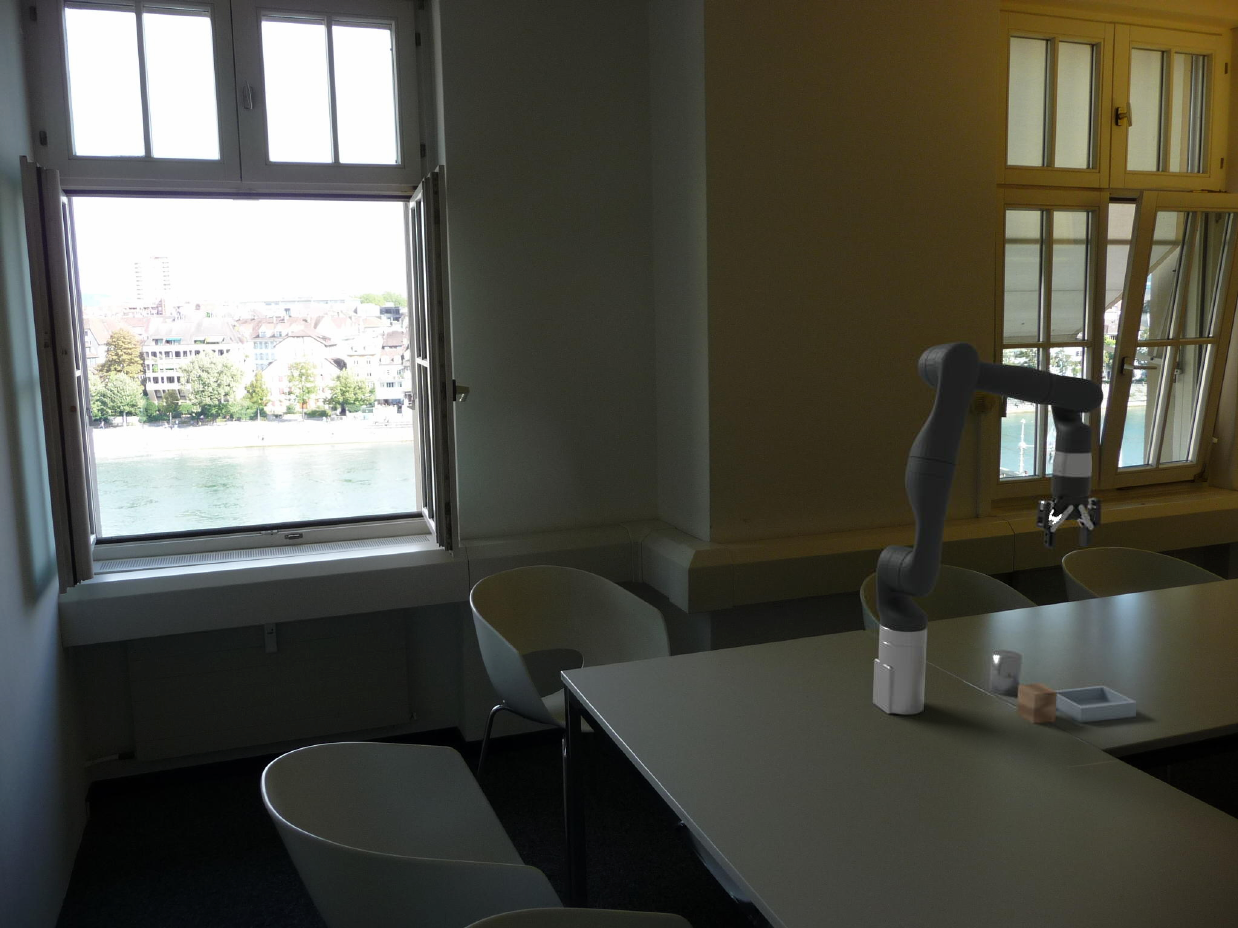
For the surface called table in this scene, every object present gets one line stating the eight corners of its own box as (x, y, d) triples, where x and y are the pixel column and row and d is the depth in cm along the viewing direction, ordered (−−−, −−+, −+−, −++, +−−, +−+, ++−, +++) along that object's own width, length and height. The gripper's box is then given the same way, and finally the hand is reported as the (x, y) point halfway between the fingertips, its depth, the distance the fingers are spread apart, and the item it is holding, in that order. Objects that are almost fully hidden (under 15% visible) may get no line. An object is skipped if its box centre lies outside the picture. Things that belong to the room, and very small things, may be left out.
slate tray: (1080, 722, 186) (1081, 708, 186) (1048, 705, 195) (1049, 691, 194) (1135, 716, 189) (1137, 701, 189) (1102, 699, 198) (1103, 685, 198)
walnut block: (1033, 723, 186) (1034, 694, 185) (1016, 713, 191) (1018, 685, 190) (1055, 721, 187) (1057, 691, 186) (1038, 711, 192) (1040, 683, 191)
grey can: (1001, 696, 200) (1003, 660, 198) (983, 686, 205) (985, 651, 204) (1026, 694, 201) (1028, 657, 200) (1008, 684, 207) (1009, 648, 206)
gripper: (1054, 476, 197) (1050, 552, 199) (1113, 473, 200) (1107, 549, 203) (1031, 471, 204) (1026, 545, 206) (1087, 469, 208) (1082, 541, 210)
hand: (1067, 547), depth 204 cm, fingers open, 8 cm apart
